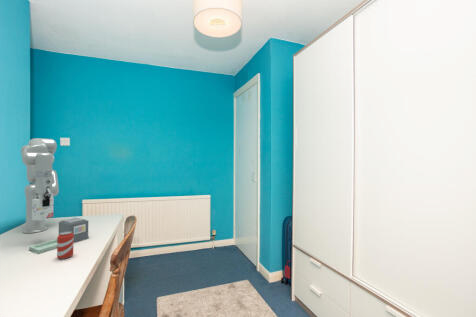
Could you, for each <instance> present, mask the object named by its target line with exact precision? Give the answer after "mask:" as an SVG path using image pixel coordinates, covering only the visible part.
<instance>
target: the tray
mask: <svg viewBox="0 0 476 317" xmlns="http://www.w3.org/2000/svg"><path fill="white" fill-rule="evenodd" d="M52 250H57V239H52V240H48V241H45V242H41V243H38V244H33V245H30V246H28V251H30V252H33V253H36V254H43V253H45V252H49V251H52Z"/></svg>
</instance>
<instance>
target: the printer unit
mask: <svg viewBox="0 0 476 317" xmlns="http://www.w3.org/2000/svg"><path fill="white" fill-rule="evenodd" d="M65 231H72V233H73V235H74V243H78V242H81V241H84V240H87V239H89V220H88V219H85V218H81V217H80V218H79V217H72V218H66V219H62V220H60V221H58V234H57V237H58V236H59V233H61V232H65Z"/></svg>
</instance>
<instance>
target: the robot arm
mask: <svg viewBox="0 0 476 317" xmlns="http://www.w3.org/2000/svg"><path fill="white" fill-rule="evenodd" d="M57 148H58V145H57V141H56V140H54V139H52V138H41V137H40V138H38V137H37V138H32V139H30V140H29V141H28V144H26V145H22V147H21V149H20V154H21V160H22V164H24V165H25V166H26V167H25V168H26V179H27V182H29V184H27V185H25V187H24V196H25V204H26V206H25V208H26V210H25V229H23V230H22V233H23V234H35V233H40V232H44V231H47V230H48V228H49V227H48V226H46V223H45V222H46V219H43V220H39V221H38V220H32V199H39V196H38V195H39V194H42V195H43V199H44V200H43V207H46V206H50V197H51V194H52V193H53V197H57V196H58V194H59V191H60V189H59V188H60V187H59V180H58V174H57V171H56V170H55V169H53V164H54V162H55V156H54V155H55V153H56V150H57ZM45 193H48V194H45Z"/></svg>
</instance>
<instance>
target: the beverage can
mask: <svg viewBox="0 0 476 317" xmlns="http://www.w3.org/2000/svg"><path fill="white" fill-rule="evenodd" d="M58 235H59V236H58ZM58 235H57V237H56V238H57V248H56V250H57V251H56V258H58V259H59V260H66V259H68V258H71V257H72V256H74V243H75V242H74V235H73V233H72V231H65V232H61V233H59V232H58Z"/></svg>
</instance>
